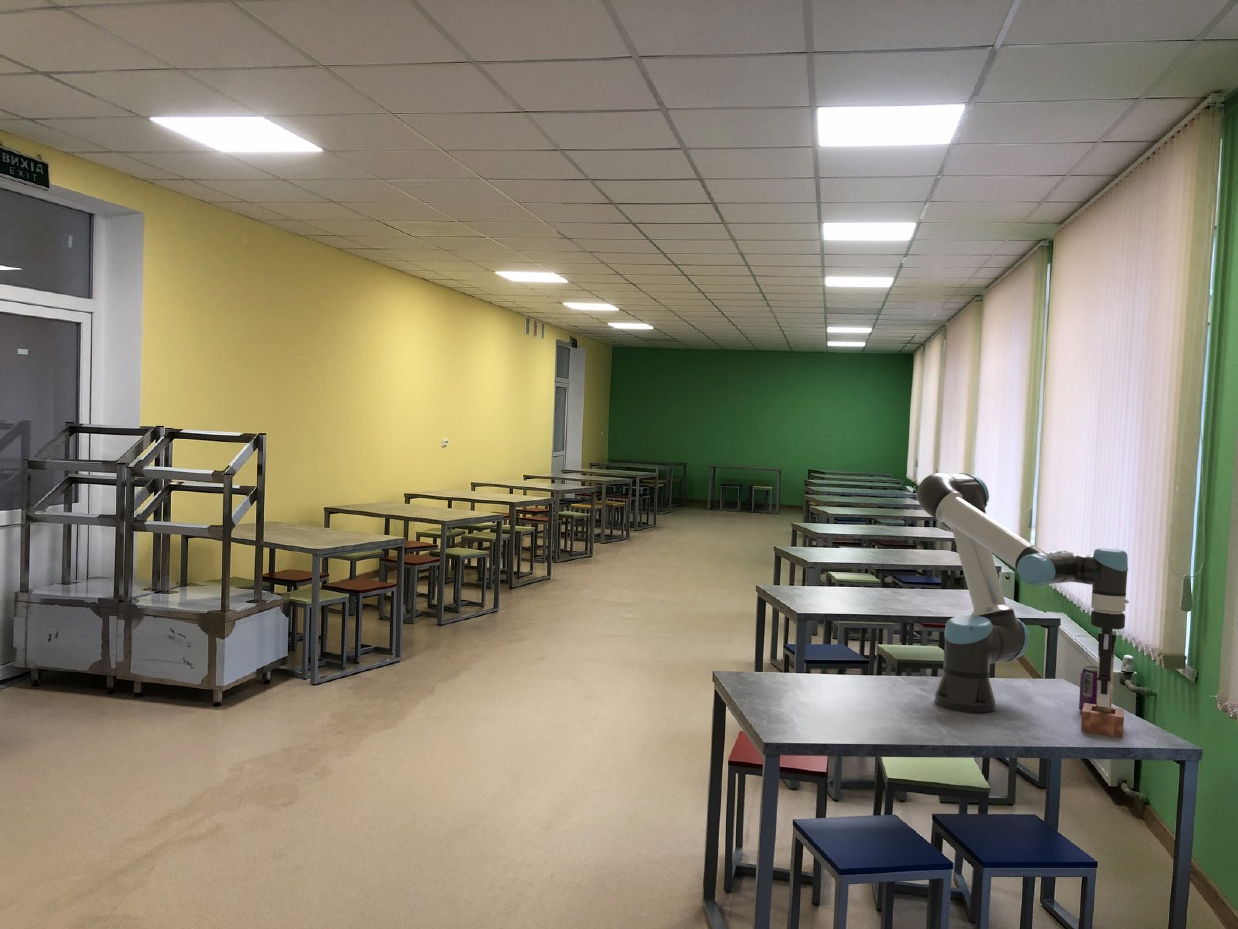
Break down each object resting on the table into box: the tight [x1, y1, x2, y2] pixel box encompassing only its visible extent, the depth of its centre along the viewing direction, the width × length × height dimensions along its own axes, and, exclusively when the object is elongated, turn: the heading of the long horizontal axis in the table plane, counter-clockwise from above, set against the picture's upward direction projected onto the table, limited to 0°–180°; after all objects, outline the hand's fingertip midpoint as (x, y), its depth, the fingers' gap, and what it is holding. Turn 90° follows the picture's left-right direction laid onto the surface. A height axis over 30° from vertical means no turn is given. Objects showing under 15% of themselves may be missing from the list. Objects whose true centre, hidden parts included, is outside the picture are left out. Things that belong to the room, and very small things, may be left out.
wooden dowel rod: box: [1096, 648, 1115, 714], centre depth 230 cm, size 4×4×18 cm
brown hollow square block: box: [1080, 703, 1125, 739], centre depth 230 cm, size 9×9×5 cm
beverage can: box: [1078, 665, 1098, 712], centre depth 245 cm, size 7×7×12 cm
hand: (1103, 704), depth 230 cm, fingers closed on wooden dowel rod, 3 cm apart
